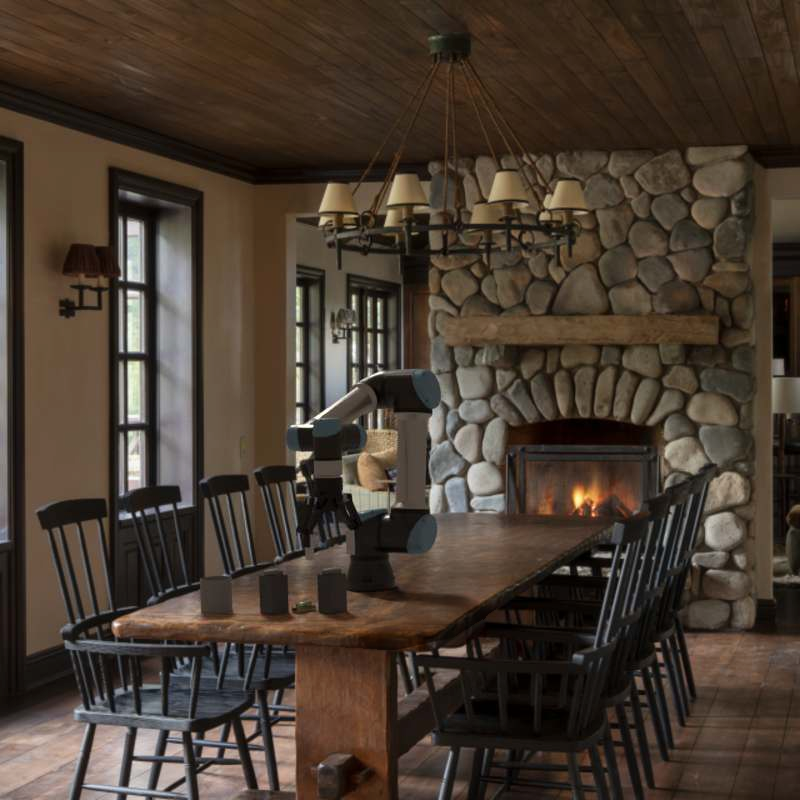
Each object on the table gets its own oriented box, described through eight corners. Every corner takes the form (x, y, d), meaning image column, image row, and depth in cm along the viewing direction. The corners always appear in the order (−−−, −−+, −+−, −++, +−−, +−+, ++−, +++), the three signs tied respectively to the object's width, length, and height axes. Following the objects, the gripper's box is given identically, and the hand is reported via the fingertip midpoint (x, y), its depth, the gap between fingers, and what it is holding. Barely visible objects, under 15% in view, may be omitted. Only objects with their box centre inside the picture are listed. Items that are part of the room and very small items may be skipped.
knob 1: (276, 609, 349) (275, 567, 348) (288, 612, 345) (287, 569, 344) (260, 612, 345) (258, 569, 345) (272, 614, 341) (270, 571, 341)
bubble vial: (310, 609, 348) (310, 600, 348) (315, 610, 346) (315, 601, 346) (292, 613, 344) (291, 603, 344) (297, 614, 342) (297, 604, 342)
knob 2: (334, 608, 348) (333, 566, 347) (347, 611, 343) (345, 567, 343) (318, 611, 344) (317, 568, 344) (330, 614, 340) (329, 570, 340)
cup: (234, 612, 354) (232, 575, 354) (231, 617, 346) (230, 580, 345) (203, 613, 354) (201, 576, 353) (199, 618, 345) (198, 581, 345)
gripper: (356, 473, 354) (358, 551, 354) (281, 479, 338) (283, 560, 338) (374, 474, 348) (376, 553, 348) (298, 480, 332) (300, 563, 332)
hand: (330, 557), depth 343 cm, fingers open, 13 cm apart
